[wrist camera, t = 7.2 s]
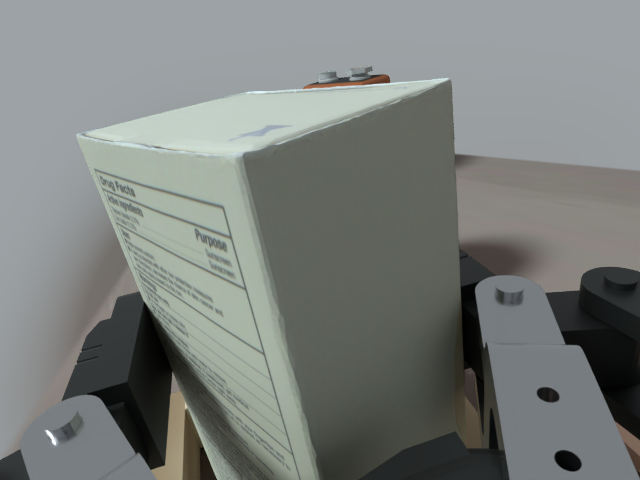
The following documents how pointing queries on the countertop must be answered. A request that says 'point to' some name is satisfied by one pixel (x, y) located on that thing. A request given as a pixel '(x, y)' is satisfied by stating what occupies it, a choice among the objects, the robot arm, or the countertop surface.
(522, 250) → the countertop surface
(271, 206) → the skincare box
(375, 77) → the battery
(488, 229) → the countertop surface
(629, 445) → the terracotta tile
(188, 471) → the square wooden frame
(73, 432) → the robot arm
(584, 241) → the countertop surface
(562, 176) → the countertop surface
